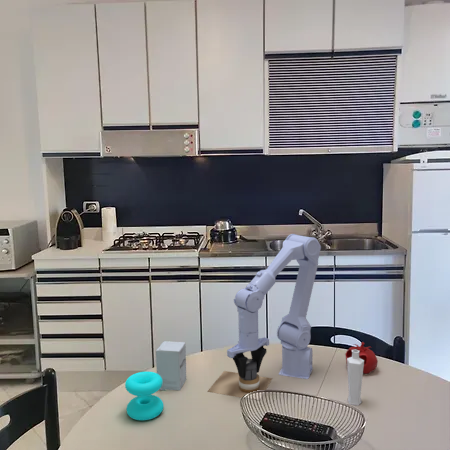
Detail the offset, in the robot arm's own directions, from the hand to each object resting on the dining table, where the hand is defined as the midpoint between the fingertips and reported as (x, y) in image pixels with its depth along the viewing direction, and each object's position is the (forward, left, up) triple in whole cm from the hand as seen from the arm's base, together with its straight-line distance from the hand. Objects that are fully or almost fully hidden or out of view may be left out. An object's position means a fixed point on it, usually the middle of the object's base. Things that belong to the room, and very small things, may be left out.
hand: (249, 373), depth 138 cm
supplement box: (+23, +5, -5) cm, 24 cm away
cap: (0, 0, -1) cm, 1 cm away
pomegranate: (-30, -24, -5) cm, 39 cm away
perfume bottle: (-30, -3, -5) cm, 31 cm away
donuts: (+23, +21, -5) cm, 32 cm away
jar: (0, 0, -4) cm, 4 cm away
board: (+3, -1, -5) cm, 6 cm away
